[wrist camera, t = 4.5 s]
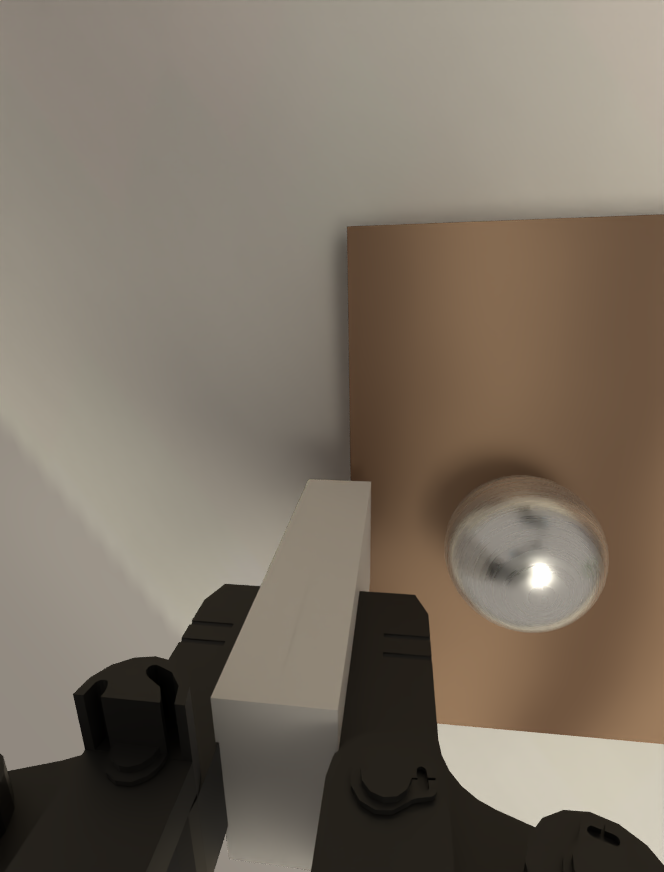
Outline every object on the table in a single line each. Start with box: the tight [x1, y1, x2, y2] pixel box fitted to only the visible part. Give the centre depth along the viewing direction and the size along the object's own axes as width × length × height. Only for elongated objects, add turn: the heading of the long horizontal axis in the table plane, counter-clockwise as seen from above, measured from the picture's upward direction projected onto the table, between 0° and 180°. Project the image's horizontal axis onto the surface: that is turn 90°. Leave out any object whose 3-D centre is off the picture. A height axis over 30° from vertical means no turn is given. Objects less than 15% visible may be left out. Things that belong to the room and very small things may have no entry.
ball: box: [444, 475, 609, 633], centre depth 11 cm, size 3×3×3 cm
